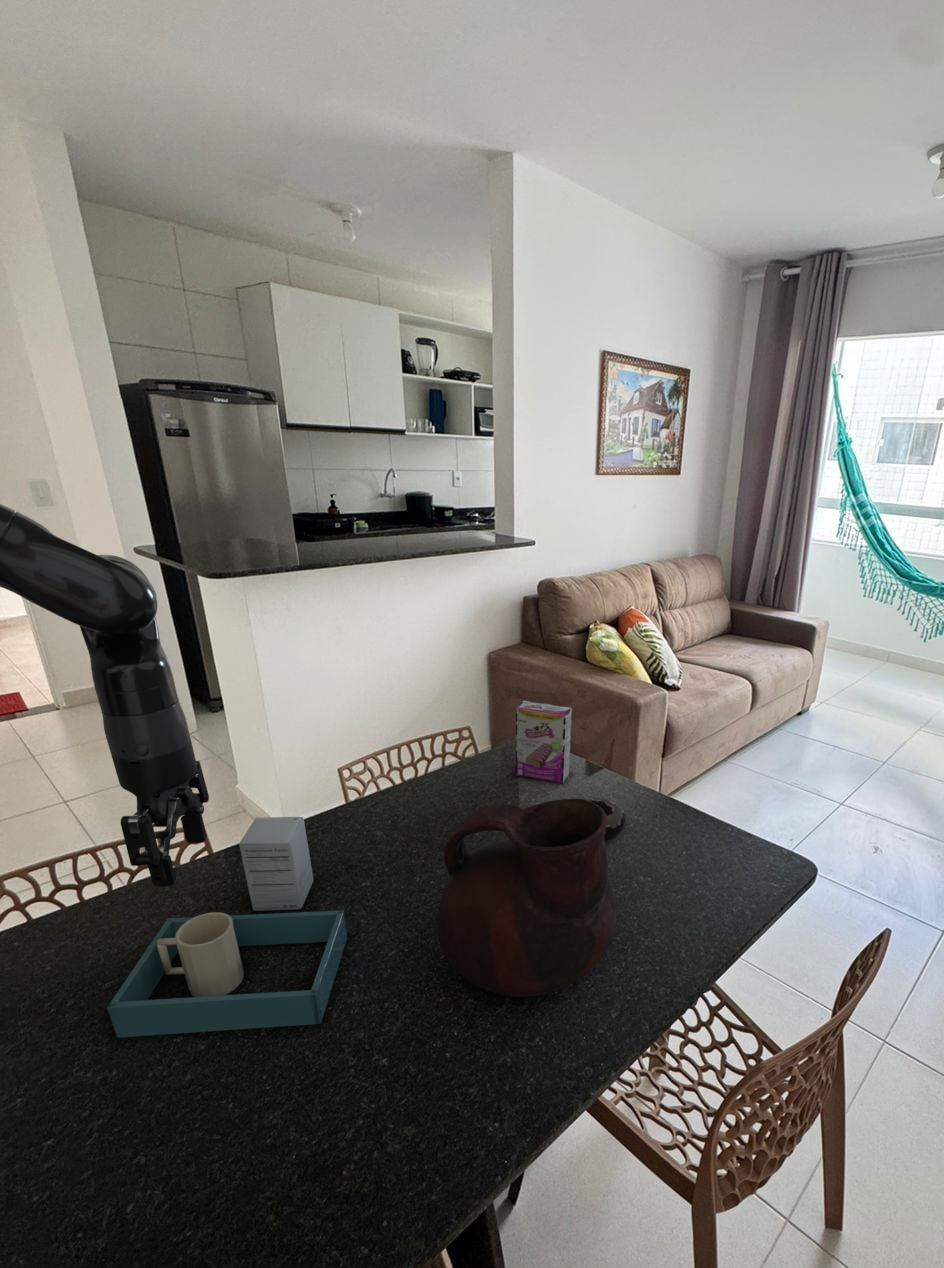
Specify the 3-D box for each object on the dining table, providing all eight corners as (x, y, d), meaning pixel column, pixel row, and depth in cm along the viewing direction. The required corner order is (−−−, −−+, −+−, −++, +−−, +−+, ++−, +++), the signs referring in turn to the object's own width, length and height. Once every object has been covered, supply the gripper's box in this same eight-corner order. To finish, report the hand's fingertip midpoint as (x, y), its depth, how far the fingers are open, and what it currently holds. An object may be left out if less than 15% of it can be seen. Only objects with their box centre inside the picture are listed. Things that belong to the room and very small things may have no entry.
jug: (502, 881, 111) (501, 748, 101) (640, 932, 101) (653, 791, 91) (400, 981, 90) (385, 826, 80) (560, 1057, 81) (566, 892, 71)
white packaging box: (267, 882, 108) (255, 816, 103) (315, 880, 109) (305, 815, 104) (251, 912, 101) (237, 843, 96) (301, 910, 102) (290, 842, 97)
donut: (554, 818, 130) (554, 801, 128) (606, 806, 135) (608, 789, 133) (581, 850, 120) (581, 831, 119) (636, 835, 126) (637, 817, 124)
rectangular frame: (117, 1037, 80) (106, 1007, 78) (175, 945, 94) (167, 918, 92) (320, 1024, 83) (316, 994, 81) (347, 937, 98) (344, 910, 96)
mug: (250, 962, 92) (239, 911, 88) (233, 998, 86) (221, 945, 83) (179, 966, 91) (165, 914, 87) (157, 1003, 85) (141, 949, 81)
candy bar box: (514, 777, 144) (514, 708, 138) (522, 766, 149) (522, 699, 142) (563, 785, 142) (565, 715, 135) (570, 774, 147) (572, 706, 140)
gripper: (146, 716, 79) (175, 830, 86) (75, 773, 66) (116, 902, 73) (212, 715, 80) (237, 828, 87) (156, 771, 67) (189, 899, 74)
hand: (182, 861), depth 80 cm, fingers open, 8 cm apart
